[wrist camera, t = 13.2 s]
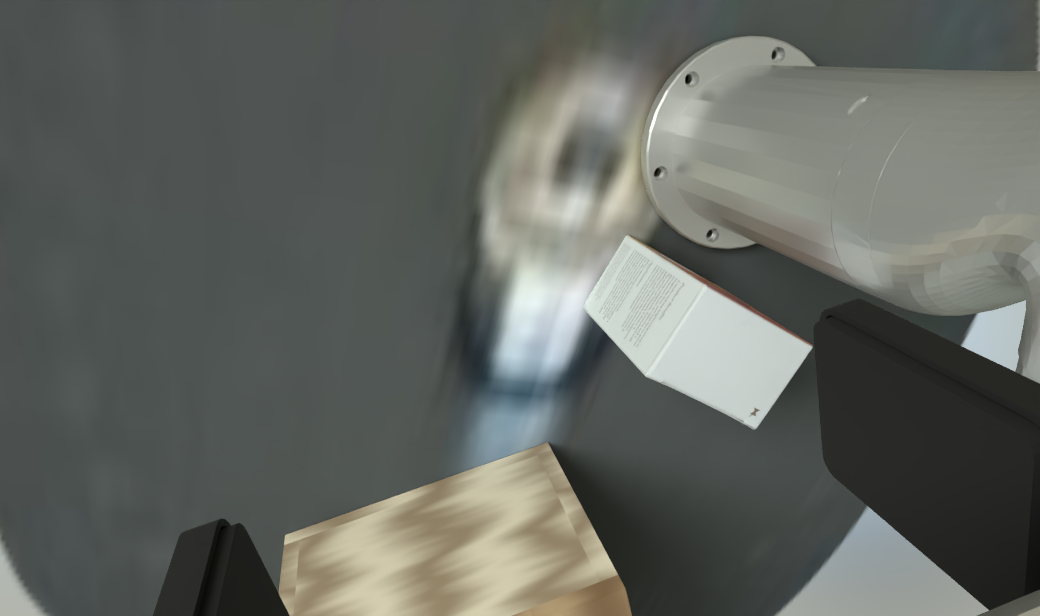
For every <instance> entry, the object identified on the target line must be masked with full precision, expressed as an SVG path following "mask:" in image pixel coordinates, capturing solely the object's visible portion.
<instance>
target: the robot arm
mask: <svg viewBox="0 0 1040 616" xmlns="http://www.w3.org/2000/svg"><path fill="white" fill-rule="evenodd" d="M772 53H773V55H772ZM771 56H772V57H771ZM686 75H688V81H687V83H685V77H686ZM641 166H642V174H643V181H644V184H645V187H646V190H647V193H648V197H649V199H650V201H651V202H652V204H653V206H654V208H655V210H656V211H657V213H658V214H659V216H660V217H661V218H662V219H663V220H664V221H665V222H666V224H667V225H668V226H669V227H671V228H672V229H673V230H675V231H676V232H677V233H679V234H680V235H682V236H683V237H685V238H687V239H689V240H691V241H693V242H695V243H697V244H700V245H703V246H706V247H710V248H719V249H734V248H742V247H747V246H750V245H753V244H756V243H758V244H760V245H763V246H765V247H767V248H769V249H771V250H774V251H776V252H778V253H780V254H782V255H785V256H787V257H789V258H791V259H793V260H795V261H798V262H800V263H802V264H804V265H806V266H809V267H811V268H813V269H815V270H817V271H820V272H822V273H824V274H826V275H828V276H831V277H833V278H835V279H837V280H839V281H842V282H844V283H846V284H848V285H850V286H852V287H855V288H857V289H859V290H861V291H863V292H866V293H868V294H870V295H872V296H875V297H878V298H880V299H882V300H884V301H887V302H889V303H891V304H894V305H896V306H898V307H901V308H904V309H907V310H910V311H914V312H918V313H924V314H930V315H944V316H960V315H969V314H975V313H980V312H985V311H990V310H995V309H999V308H1002V307H1005V306H1009V305H1011V304H1015V303H1018V302H1021V301H1024V300H1026V314H1025V319H1024V325H1023V330H1022V336H1021V341H1020V345H1019V349H1018V352H1019V353H1018V354H1019V360H1018V364H1017V368H1016V372H1014V371H1012V370H1010V369H1008V368H1006V367H1004V366H1002V365H1000V364H997V363H995V362H993V361H991V360H989V359H987V358H985V357H982V356H980V355H978V354H976V353H974V352H972V351H970V350H968V349H966V348H964V347H961V346H959V345H957V344H955V343H953V342H951V341H949V340H947V339H945V338H942V337H940V336H938V335H936V334H934V333H932V332H930V331H928V330H925V329H923V328H921V327H919V326H917V325H915V324H913V323H911V322H909V321H906V320H904V319H902V318H900V317H898V316H896V315H894V314H892V313H889V312H887V311H885V310H883V309H881V308H879V307H877V306H875V305H873V304H870V303H868V302H866V301H864V300H860V299H856V300H852V301H849V302H846V303H843V304H841V305H838V306H835V307H832V308H829V309H826V310H825V311H823V312H822V314H821V317H820V321H818V322H817V323H816V324H815V326H814V344H815V357H816V370H817V384H818V397H819V410H820V423H821V436H822V450H823V458H824V461H825V464H826V466H827V468H828V470H829V471H830V473H831V474H832V475H833V476H834V477H835V478H836V479H837V480H838V481H839V482H840V483H842V484H843V485H844V486H845V487H846V488H847V489H849V490H850V491H851V492H852V493H853V494H854V495H856V496H857V497H858V498H859V499H860V500H861V501H863V502H864V503H865V504H866V505H867V506H868V507H870V508H871V509H872V510H873V511H874V512H875V513H877V514H878V515H879V516H880V517H881V518H882V519H884V520H885V521H886V522H887V523H888V524H889V525H891V526H892V527H893V528H894V529H895V530H896V531H897V532H899V533H900V534H901V535H902V536H903V537H905V538H906V539H907V540H908V541H909V542H910V543H912V544H913V545H914V546H915V547H916V548H918V550H920V551H921V552H922V553H923V554H924V555H925V556H927V557H928V558H929V559H930V560H931V561H932V562H934V563H935V564H936V565H937V566H938V567H939V568H941V569H942V570H943V571H944V572H945V573H946V574H948V575H949V576H950V577H951V578H952V579H953V580H955V581H956V582H957V583H958V584H959V585H960V586H962V587H963V588H964V589H965V590H966V591H967V592H969V593H970V594H971V595H972V596H973V597H974V598H976V599H977V600H978V601H979V602H980V603H982V604H983V605H984V606H985V607H986V608H987V609H988V610H989V611H987V612H985V613H982V614H980V615H978V616H1040V71H1018V72H1006V71H967V70H923V69H888V68H853V67H818V66H816V65H815V63H814V62H812V61H811V60H810V59H809V58H808V57H807V56H806V55H805V54H804V53H803V52H802V51H801V50H799V49H797V48H795V47H794V46H792V45H790V44H789V43H787V42H784V41H781V40H777V39H774V38H771V37H760V36H744V37H733V38H730V39H726V40H723V41H719V42H715V43H713V44H711V45H710V46H708V47H706V48H704V49H702V50H700V51H698V52H696V53H695V54H694V55H693V56H691V57H690V58H689V59H687V60H686V61H685V62H684V63H682V64H681V65H680V66H679V67H678V68H677V70H676V71H675V72H674V73H673V74H672V75H671V76H670V77H669V78H668V80H667V81H666V82H665V84H664V86H663V87H662V89H661V90H660V92H659V94H658V95H657V97H656V98H655V100H654V103H653V105H652V107H651V110H650V112H649V115H648V117H647V120H646V124H645V129H644V133H643V137H642V147H641ZM656 168H657V169H658V173H657V174H656V175H655V176H654V171H655V170H656ZM708 231H709V233H708V234H707V232H708ZM153 616H290V615H289V613H288V611H287V609H286V607H285V605H284V603H283V601H282V599H281V597H280V595H279V593H278V592H277V590H276V588H275V586H274V584H273V582H272V580H271V578H270V576H269V574H268V572H267V570H266V568H265V566H264V564H263V562H262V560H261V558H260V556H259V554H258V552H257V550H256V548H255V546H254V544H253V542H252V540H251V538H250V536H249V535H248V533H247V531H246V529H245V527H244V526H243V525H242V524H240V523H238V524H235V525H232V526H231V525H230V524H229V522H227V521H226V520H225V519H219V520H216V521H213V522H210V523H207V524H205V525H202V526H199V527H196V528H193V529H190V530H187V531H185V532H183V533H181V535H180V537H179V539H178V542H177V545H176V548H175V551H174V554H173V557H172V560H171V563H170V566H169V569H168V572H167V575H166V578H165V581H164V584H163V587H162V590H161V593H160V596H159V599H158V602H157V605H156V608H155V611H154V614H153Z"/></svg>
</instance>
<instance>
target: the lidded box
mask: <svg viewBox="0 0 1040 616" xmlns="http://www.w3.org/2000/svg"><path fill="white" fill-rule="evenodd" d="M279 595H280V597H281V599H282V601H283V603H284V605H285V607H286V609H287V611H288V613H289V615H290V616H632V614H631V610H630V605H629V601H628V597H627V593H626V589H625V587H624V585H623V583H622V581H621V579H620V577H619V575H618V574H617V572H616V570H615V568H614V566H613V564H612V562H611V560H610V559H609V557H608V555H607V553H606V551H605V549H604V547H603V545H602V544H601V542H600V540H599V538H598V536H597V534H596V532H595V530H594V528H593V527H592V525H591V523H590V521H589V519H588V517H587V515H586V513H585V512H584V510H583V508H582V506H581V504H580V502H579V500H578V498H577V497H576V495H575V493H574V491H573V489H572V487H571V485H570V483H569V482H568V480H567V478H566V476H565V474H564V472H563V470H562V468H561V467H560V465H559V463H558V461H557V459H556V457H555V455H554V453H553V451H552V450H551V448H550V446H549V444H548V442H547V443H544V444H541V445H539V446H536V447H533V448H530V449H527V450H524V451H522V452H519V453H516V454H513V455H510V456H508V457H505V458H502V459H499V460H496V461H493V462H491V463H488V464H485V465H482V466H479V467H476V468H474V469H471V470H468V471H465V472H462V473H459V474H457V475H454V476H451V477H448V478H445V479H442V480H440V481H437V482H434V483H431V484H428V485H425V486H423V487H420V488H417V489H414V490H411V491H408V492H406V493H403V494H400V495H397V496H394V497H392V498H389V499H386V500H383V501H380V502H377V503H375V504H372V505H369V506H366V507H363V508H360V509H358V510H355V511H352V512H349V513H346V514H343V515H341V516H338V517H335V518H332V519H329V520H326V521H324V522H321V523H318V524H315V525H312V526H309V527H307V528H304V529H301V530H298V531H295V532H292V533H290V534H287V535H285V542H284V551H283V559H282V568H281V577H280V586H279Z"/></svg>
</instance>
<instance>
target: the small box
mask: <svg viewBox="0 0 1040 616" xmlns="http://www.w3.org/2000/svg"><path fill="white" fill-rule="evenodd" d="M583 308H584V310H586V312H587V313H588V314H589V315H590V316H591V317H592V318H593V319H594V320H595V322H596V323H597V324H598V325H599V326H600V327H601V328H602V329H603V330H604V331H605V332H606V333H607V335H608V336H609V337H610V338H611V339H612V340H613V341H614V342H615V343H616V345H617V346H618V347H619V348H620V349H621V350H622V351H623V352H624V353H625V354H626V356H627V357H628V358H629V359H630V360H631V361H632V362H633V363H634V364H635V365H636V367H637V368H638V369H639V370H640V371H641V372H642V373H643V374H644V375H645V376H646V377H647V378H650V379H652V380H655V381H657V382H660V383H662V384H664V385H667V386H669V387H671V388H673V389H675V390H678V391H680V392H682V393H684V394H686V395H688V396H690V397H692V398H694V399H696V400H698V401H700V402H702V403H704V404H706V405H708V406H710V407H712V408H714V409H716V410H718V411H720V412H722V413H725V414H727V415H728V416H730V417H732V418H734V419H736V420H738V421H740V422H741V423H743V424H745V425H747V426H748V427H750V428H752V429H756V428H757V427H758V425H759V424H760V423H761V421H762V420H763V418H764V417H765V416H766V414H767V413H768V411H769V410H770V408H771V407H772V406H773V404H774V403H775V401H776V400H777V398H778V397H779V396H780V394H781V393H782V391H783V390H784V388H785V387H786V385H787V384H788V383H789V381H790V380H791V378H792V377H793V375H794V374H795V373H796V371H797V370H798V368H799V367H800V365H801V364H802V362H803V361H804V360H805V358H806V356H807V355H808V353H809V352H810V351H811V349H812V344H810V343H809V342H807V341H805V340H804V339H802V338H801V337H799V336H798V335H796V334H794V333H793V332H791V331H790V330H788V329H786V328H785V327H783V326H782V325H780V324H779V323H777V322H775V321H774V320H772V319H771V318H769V317H767V316H766V315H764V314H763V313H761V312H759V311H758V310H756V309H755V308H753V307H751V306H750V305H748V304H747V303H745V302H743V301H742V300H740V299H739V298H737V297H735V296H734V295H732V294H731V293H729V292H727V291H726V290H724V289H723V288H721V287H719V286H718V285H716V284H714V283H712V282H710V281H708V280H706V279H705V278H703V277H701V276H699V275H698V274H696V273H694V272H692V271H691V270H689V269H687V268H685V267H684V266H682V265H680V264H678V263H677V262H675V261H673V260H672V259H670V258H668V257H666V256H665V255H663V254H661V253H660V252H658V251H656V250H654V249H653V248H651V247H649V246H647V245H646V244H644V243H642V242H641V241H639V240H637V239H635V238H634V237H632V236H630V235H627V236H626V237H625V239H624V240H623V242H622V244H621V245H620V247H619V248H618V250H617V252H616V253H615V255H614V256H613V258H612V260H611V261H610V263H609V265H608V266H607V268H606V269H605V271H604V273H603V274H602V276H601V278H600V279H599V281H598V283H597V284H596V286H595V287H594V289H593V291H592V292H591V294H590V296H589V297H588V299H587V301H586V302H585V304H584V306H583Z"/></svg>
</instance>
